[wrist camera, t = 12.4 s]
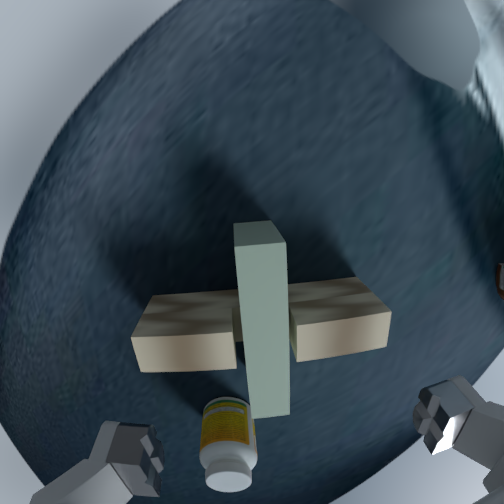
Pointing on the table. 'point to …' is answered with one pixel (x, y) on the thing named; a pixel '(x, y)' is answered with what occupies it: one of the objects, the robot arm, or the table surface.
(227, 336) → the birch bridge block
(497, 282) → the food container
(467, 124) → the table surface
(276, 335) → the green rectangular block
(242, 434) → the supplement bottle
